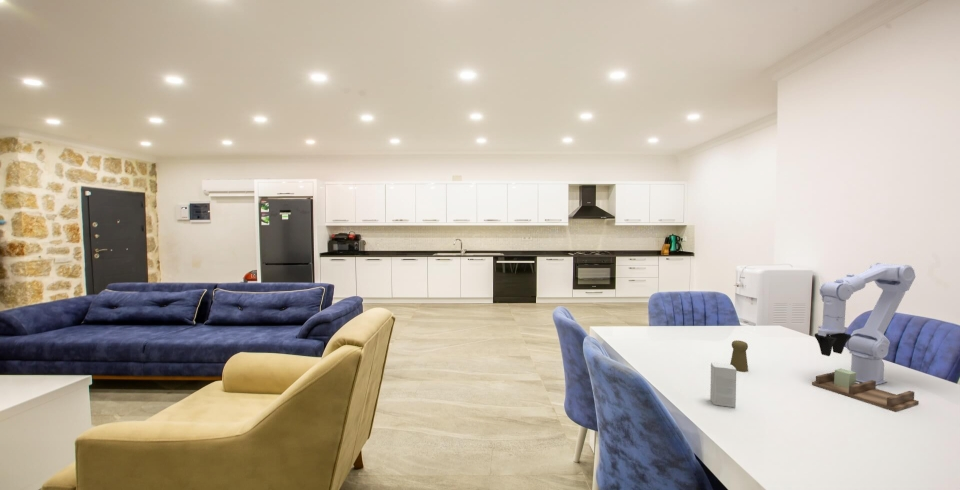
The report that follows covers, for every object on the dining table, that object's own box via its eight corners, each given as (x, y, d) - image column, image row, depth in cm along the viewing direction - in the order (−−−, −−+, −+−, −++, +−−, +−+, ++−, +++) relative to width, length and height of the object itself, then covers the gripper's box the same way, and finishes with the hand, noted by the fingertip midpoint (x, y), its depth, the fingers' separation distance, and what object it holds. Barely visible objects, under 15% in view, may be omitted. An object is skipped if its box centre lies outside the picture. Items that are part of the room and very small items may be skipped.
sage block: (840, 382, 132) (841, 368, 132) (855, 386, 128) (856, 372, 128) (834, 384, 130) (834, 370, 130) (848, 388, 127) (849, 374, 127)
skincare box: (731, 402, 118) (732, 364, 118) (735, 408, 114) (737, 369, 114) (709, 399, 120) (710, 362, 120) (712, 404, 116) (714, 366, 116)
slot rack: (834, 379, 137) (835, 369, 137) (918, 404, 118) (919, 393, 118) (812, 384, 132) (812, 375, 132) (895, 411, 113) (896, 400, 113)
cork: (751, 372, 143) (752, 344, 143) (733, 371, 144) (734, 342, 144) (743, 366, 149) (744, 339, 149) (726, 365, 150) (727, 338, 150)
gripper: (831, 312, 140) (828, 348, 140) (808, 315, 134) (806, 352, 135) (855, 316, 133) (853, 354, 134) (833, 319, 128) (831, 359, 128)
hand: (831, 354), depth 134 cm, fingers open, 7 cm apart
